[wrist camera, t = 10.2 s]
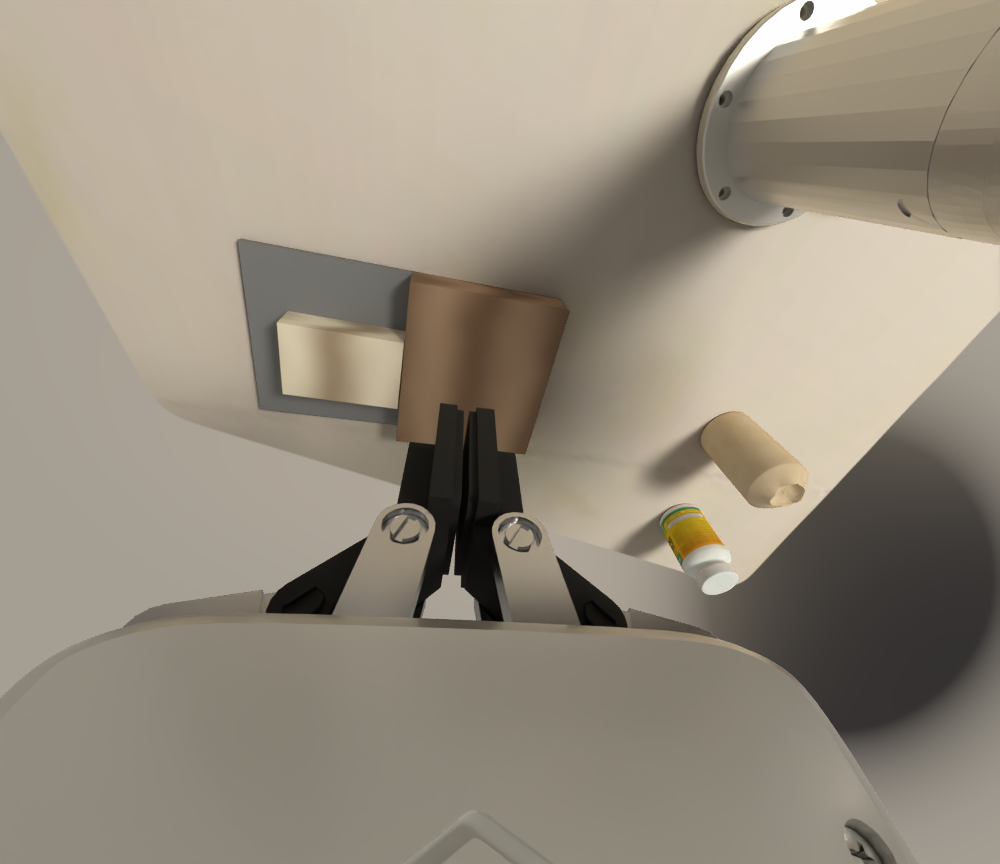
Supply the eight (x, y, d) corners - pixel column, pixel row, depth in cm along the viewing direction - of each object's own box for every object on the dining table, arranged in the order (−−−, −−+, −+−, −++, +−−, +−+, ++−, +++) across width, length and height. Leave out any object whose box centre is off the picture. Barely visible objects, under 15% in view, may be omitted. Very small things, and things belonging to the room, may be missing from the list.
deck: (560, 299, 34) (569, 311, 31) (520, 436, 41) (525, 454, 39) (412, 271, 31) (409, 282, 29) (399, 422, 39) (396, 440, 36)
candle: (693, 454, 45) (747, 522, 37) (707, 412, 42) (769, 477, 34) (740, 450, 46) (804, 516, 38) (758, 408, 42) (831, 471, 34)
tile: (406, 331, 33) (403, 343, 31) (400, 394, 37) (397, 409, 35) (287, 310, 31) (276, 322, 29) (292, 379, 35) (282, 393, 33)
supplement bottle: (707, 516, 52) (753, 582, 44) (670, 537, 53) (708, 604, 45) (688, 495, 49) (734, 561, 41) (650, 518, 51) (687, 586, 43)
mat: (412, 271, 31) (412, 272, 31) (399, 422, 39) (399, 425, 38) (240, 238, 29) (237, 239, 28) (262, 406, 36) (260, 409, 36)
